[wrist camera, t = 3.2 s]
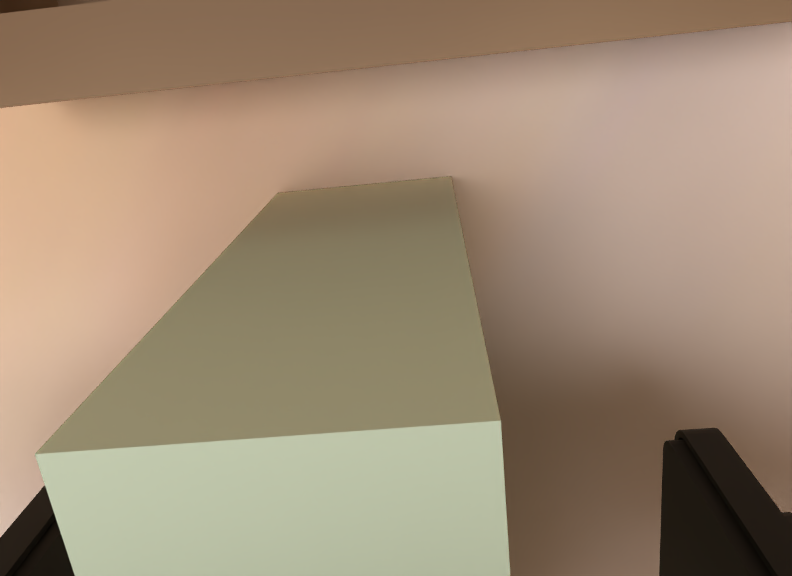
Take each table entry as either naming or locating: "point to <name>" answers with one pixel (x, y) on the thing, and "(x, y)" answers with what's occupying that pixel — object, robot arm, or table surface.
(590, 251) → the table surface
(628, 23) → the brown wooden shallow tray
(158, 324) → the light green rectangular block
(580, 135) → the table surface
